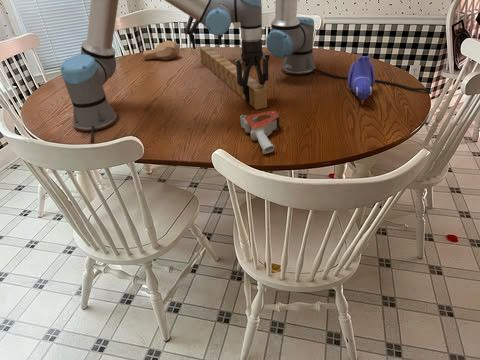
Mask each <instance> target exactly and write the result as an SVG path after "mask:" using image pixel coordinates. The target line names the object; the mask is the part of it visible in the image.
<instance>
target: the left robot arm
mask: <svg viewBox="0 0 480 360" xmlns="http://www.w3.org/2000/svg"><path fill="white" fill-rule="evenodd" d="M164 1H165V2H166V3H168V4H170V5H171V6H173V7H175V8H176V9H177V10H179V11H180V12H183V14H186V15H187V16H189V17H190V16H191V17H192V18H193V20H194V21H196V20H197V21H199V22H200V23H199V24H201V25H203V26H204V27H206V29H207V30H208V32H209V33H210V34H212V35H214V36H217V37H218V35H223V36H224V35H225V34H226V33H227V32H228V30H229V29H230V28H231V24H236V23H240V39H241V41H240V46H241V55H240V57H239V58H235V59H234V64H235V66H236V69H237V84H238V85H239V86H242V88H243V94H244V95H245V99H244V101H245V102H246V103H247V104H249V103H250V98H249V86H247V84H248V78H249V76H250V73H251V69H252V67H253V66H254V67H255V71H256V75H257V80H258V81H257V82H258V83H260V84H261V85H262V86H264V87H265V84H266V82H268V81H269V60H270V54H268V53H267V52H266V53H264V52H263V40H262V38H263V10H262V9H263V8H262V7H263V6H262V5H263V4H262V0H164ZM89 5H90V6H89V16H88V24H87V25H88V26H87V35H86V39H85V40H84V41H82V42H81V48H80V54H77V55H73V56H70V57H68V58H66V59H64V60H63V61H62V62H61V64H60V66H59V68H60V72H61V77H62V80H63V82H64V84H65V87H66V90H67V93H68V96H69V99H70V101H71V104H72V108H73V114H72V117H73V118H72V119H73V125H74V128H75V129H76V131H78V132H84V133H90V134H91V135H90V143H94V133H95V132H99V131H102V130H105V129H107V128H110V127H111V126H113V125H115V124H116V122H117V121H118V116H117V113H116V111H115V110H114V108H113V107H112V105H111V103H110V102H109V101H108V99H107V96H106V92H105V89H104V87H103V86H104V85H105V84H106V83H107V81H108V80H109V79H110V78H112V77H113V76H114V74H115V72H116V68H117V59H116V49H115V48H114V46H113V41H114V34H115V28H116V21H117V13H118V6H119V0H90V4H89ZM261 60H262V65H261ZM243 64H244V65H243ZM242 65H243V66H242ZM261 66H262V67H261ZM243 67H244V68H243ZM242 71H243V72H244V73H243V79H242Z"/></svg>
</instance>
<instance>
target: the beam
mask: <svg viewBox="0 0 480 360" xmlns="http://www.w3.org/2000/svg"><path fill="white" fill-rule="evenodd" d="M199 55H200V61H201V64H203V65H205V67H207V68H208V69H209V70H210V71H211V72H212V73H214V74H215V75H216V76H217V77H218V78H219V79H220V80H221V81H223V82H224V83H225V84H226V85H227V86H228V87H229V88H231V89H232V90H233V91H234V92H236V94H238V95H239V96H240V97H241V98H242V99H243V100H245V95H244V94H243V88H242V86H239V85H238V84H237V69H236V64H235V63H233V62H232V61H229V59H227V58H226V57H224V56H223V55H221V54H220V53H219V52H217V51H216V50H215V49H214V48H212V47H210V46H209V45H205V46H199ZM243 73H244V70H242V79H243ZM258 82H259V81H257V80H255V78H253V77H251V76H250V75H249V78H248V84H247V86H249V98H250V103H248V104H249V105H250V106H251V107H252V108H254V109H255V110H256V111H257V110H261V109H265V108H268V88H267V87H265V85H264V86H262V85H261V84H260V83H258Z"/></svg>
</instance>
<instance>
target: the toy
mask: <svg viewBox="0 0 480 360" xmlns="http://www.w3.org/2000/svg"><path fill="white" fill-rule="evenodd" d="M370 59H371V57H370V56H369V55H365V56H362V55H361V56H358V57H357V60H356V62H355V61H352V63H351V65H350V67H349V70H348V74H347V77H348V79H347V86H348V89H350V90H351V91H352V92H353V93H354V95H355V96H356V97H357V98H358V100H360V105H361V106H363V105H364V102H365V100H367V99H368V98H369V97H370V96H371V95H372V94H373V88H374V86H375V83H376V82H375V79H376V73H375V67H374V64H373V61H372V60H370Z"/></svg>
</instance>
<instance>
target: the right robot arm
mask: <svg viewBox="0 0 480 360" xmlns="http://www.w3.org/2000/svg"><path fill="white" fill-rule="evenodd" d="M274 5H275V7H274V8H275V10H274V19H272V20H271V23H270V24H271V25H270V26H271V27H270V31H269V33H268V34H267V36H266V38H265V45H266V48H267V50H268V52H269V53H270V54H271V55H272V56H273V57H275V58H277V59H284V61H283V63H282V69H281V71H282V72H283V73H284V74H286V75H290V76H305V75H306V76H307V75H311V74H313V73H314V72H317V73H319V74H323V75H326V76H329V77H333V78H338V79H342V80H348V76H343V75H338V74H333V73H329V72H326V71H324V70H320V69H318V68H316V63H315V59H314V55H313V50H314V49H313V47H314V34H315V19H313V18H312V17H308V16H307V17H306V16H297V14H298V13H297V12H298V0H275V3H274ZM193 21H194V22H193ZM200 24H201V23H200V22H199V21H197V20H194V18H192V17H191V16H189V17H188V20H187V24H186V25H185V26H186V27H185V30H184V33H185V34H186V35H188V38H189V42H190V43H191V46H192V49H193V50H196V49H197V48H196V39H195V34H194V33H195V31H196V30H197V28H198V26H199V25H200ZM223 37H224V34H223V35H218V36H217V43H218V45H219V46H222V45H223V41H222V38H223ZM374 83H381V84H387V85H390V86H391V85H392V86H396V87H400V88H403V89H406V90H410V91H424V92H426V93H427V94H429V95H432V92H431V90H429V89H428V88H426V87H412V86H408V85H405V84H400V83H397V82H392V81H387V80H382V79H376V78H375V82H374Z"/></svg>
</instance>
